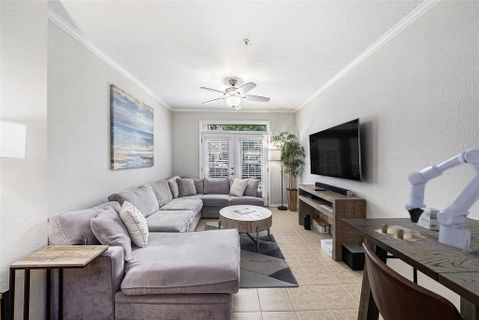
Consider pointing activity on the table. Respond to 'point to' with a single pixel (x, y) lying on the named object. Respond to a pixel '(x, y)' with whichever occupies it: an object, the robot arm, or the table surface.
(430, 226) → the light bulb box
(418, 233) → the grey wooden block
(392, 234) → the board
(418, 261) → the table surface
